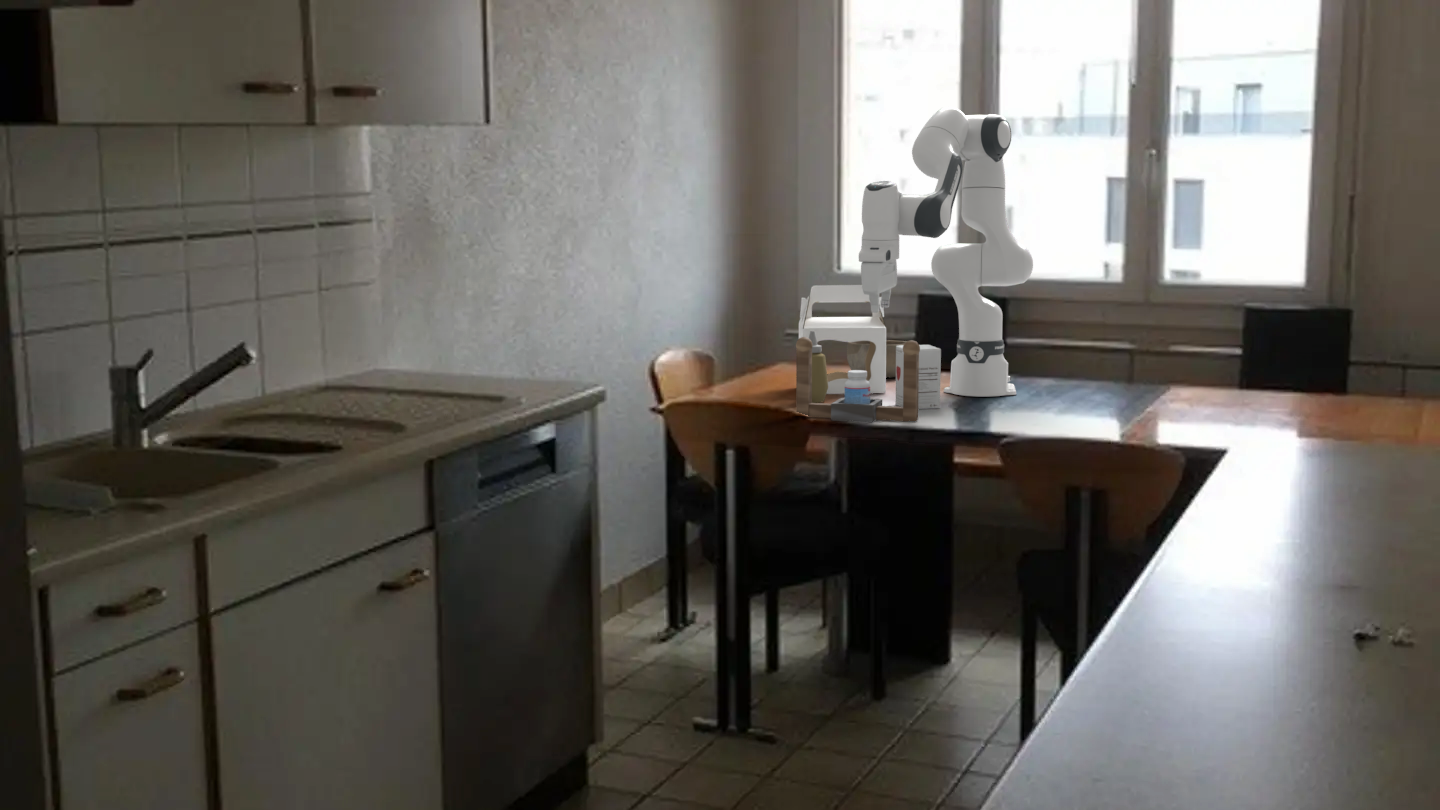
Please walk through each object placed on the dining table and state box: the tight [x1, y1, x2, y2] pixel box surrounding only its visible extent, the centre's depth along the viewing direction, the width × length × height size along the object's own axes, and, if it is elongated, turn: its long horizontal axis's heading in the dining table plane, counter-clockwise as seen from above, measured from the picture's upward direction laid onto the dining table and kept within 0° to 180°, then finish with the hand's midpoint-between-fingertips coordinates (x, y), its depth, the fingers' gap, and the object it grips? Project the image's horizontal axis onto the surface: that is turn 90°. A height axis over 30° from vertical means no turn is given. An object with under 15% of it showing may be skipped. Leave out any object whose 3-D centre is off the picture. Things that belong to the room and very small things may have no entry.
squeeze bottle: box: [809, 331, 828, 403], centre depth 429 cm, size 8×8×18 cm
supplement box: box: [895, 344, 942, 410], centre depth 420 cm, size 9×9×15 cm
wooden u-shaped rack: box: [795, 337, 920, 423], centre depth 403 cm, size 10×30×19 cm, turn 72°
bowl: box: [846, 339, 907, 378], centre depth 476 cm, size 17×18×10 cm
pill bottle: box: [844, 369, 871, 404], centre depth 403 cm, size 6×6×11 cm
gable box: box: [798, 284, 887, 395], centre depth 448 cm, size 22×13×28 cm, turn 92°
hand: (880, 309), depth 402 cm, fingers open, 8 cm apart
